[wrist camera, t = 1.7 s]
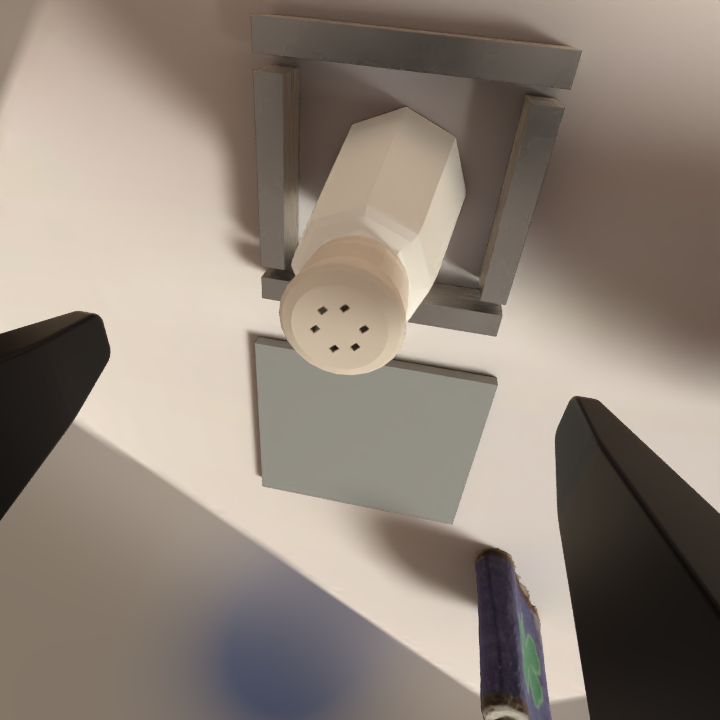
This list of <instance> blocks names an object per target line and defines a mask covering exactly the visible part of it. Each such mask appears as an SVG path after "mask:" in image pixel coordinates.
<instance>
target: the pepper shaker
mask: <svg viewBox="0 0 720 720" xmlns="http://www.w3.org/2000/svg"><path fill="white" fill-rule="evenodd" d="M465 196H466V188H465V183H464V178H463V173H462V168H461V162H460V157H459V152H458V147H457V142H456V137H454V136H453V135H451V134H450V133H448V132H446V131H445V130H443V129H441V128H440V127H438V126H437V125H435V124H433V123H432V122H430V121H429V120H427V119H425V118H424V117H422V116H421V115H419V114H417V113H416V112H414V111H413V110H411V109H409V108H408V107H404V108H401V109H398V110H395V111H392V112H389V113H386V114H383V115H379V116H376V117H373V118H370V119H367V120H364V121H361V122H358V123H355V124H352V126H351V128H350V130H349V133H348V135H347V137H346V139H345V141H344V143H343V146H342V148H341V150H340V152H339V154H338V156H337V159H336V161H335V163H334V165H333V167H332V169H331V172H330V174H329V176H328V178H327V180H326V183H325V185H324V187H323V190H322V192H321V194H320V196H319V199H318V201H317V203H316V206H315V208H314V210H313V212H312V215H311V217H310V219H309V222H308V224H307V226H306V228H305V231H304V233H303V235H302V237H301V240H300V242H299V244H298V247H297V249H296V251H295V254H294V257H293V260H292V263H291V266H292V269H293V271H294V274H295V277H294V278H293V279H292V281H291V282H290V283H289V284H288V285H287V287H286V289H285V291H284V293H283V295H282V297H281V302H280V309H279V316H280V322H281V328H282V330H283V332H284V334H285V336H286V338H287V341H288V342H289V343H290V344H291V346H292V347H293V348H294V350H295V351H296V352H297V353H298V354H299V355H300V356H301V357H303V358H304V359H305V360H306V361H307V362H309V363H310V364H312V365H314V366H316V367H318V368H320V369H322V370H324V371H328V372H331V373H335V374H342V375H357V374H364V373H369V372H371V371H374V370H376V369H379V368H381V367H383V366H384V365H385V364H387V363H388V362H389V361H391V360H392V359H393V358H394V357H395V355H396V354H397V352H398V351H399V350H400V348H401V347H402V344H403V341H404V337H405V334H406V323H407V322H408V320H409V319H410V318H411V316H412V315H413V313H414V312H415V311H416V309H417V308H418V306H419V305H420V303H421V302H422V301H423V299H424V298H425V296H426V295H427V293H428V292H429V290H430V289H431V287H432V285H433V283H434V281H435V279H436V277H437V275H438V272H439V269H440V267H441V264H442V261H443V258H444V255H445V252H446V250H447V247H448V244H449V241H450V238H451V236H452V233H453V230H454V227H455V224H456V221H457V219H458V216H459V213H460V210H461V207H462V204H463V202H464V199H465Z"/></svg>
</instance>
